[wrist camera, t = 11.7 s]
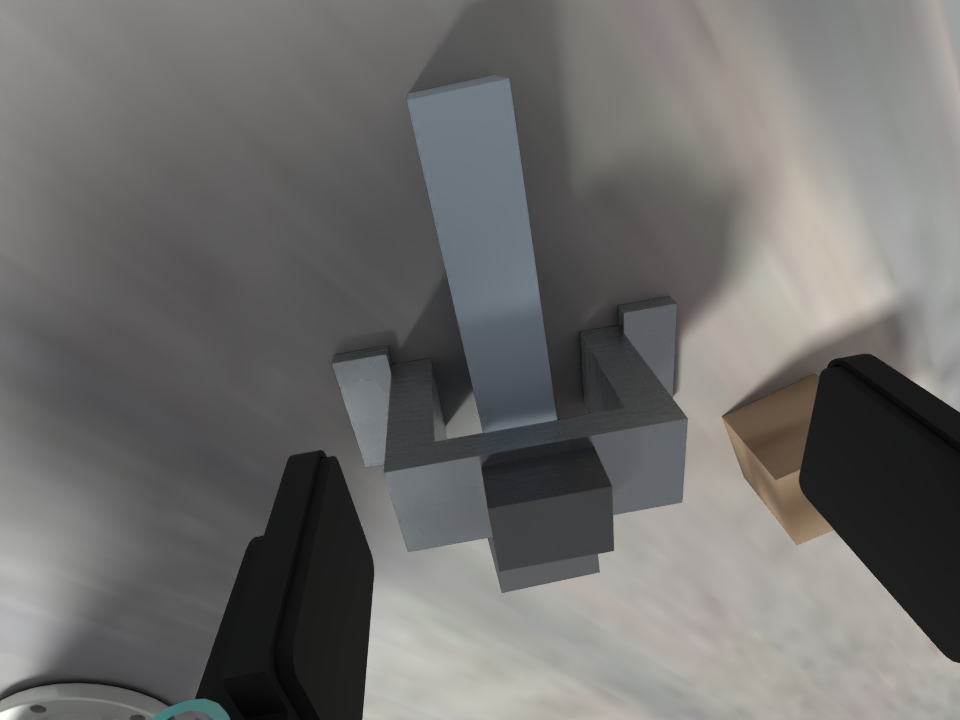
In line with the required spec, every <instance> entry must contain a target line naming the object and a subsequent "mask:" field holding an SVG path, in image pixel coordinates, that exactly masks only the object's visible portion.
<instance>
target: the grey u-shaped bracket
mask: <svg viewBox="0 0 960 720" xmlns="http://www.w3.org/2000/svg"><path fill="white" fill-rule="evenodd" d="M676 315H677V303H676V302H675V301H674V300H673V299H672V298H671V297H664V298H659V299H653V300H647V301H641V302H636V303H630V304H624V305H618V325H616V326H610V327H605V328H599V329H593V330H588V331H582V332H580V340H581V359H582V377H583V396H584V404H585V406H586V408H587V410H588V412H589V414H588V415H582V416H576V417H571V418H565V419H560V420H554V421H548V422H543V423H537V424H531V425H526V426H520V427H515V428H509V429H503V430H498V431H492V432H486V433H481V434H475V435H470V436H464V437H458V438H453V439H447V438H446V426H445V422H444V417H443V412H442V408H441V403H440V399H439V394H438V389H437V385H436V380H435V376H434V371H433V366H432V362H431V358H428V359H422V360H416V361H410V362H405V363H399V364H393V365H392V363H391V359H390V355H389V351H388V348H387V346H383V347H377V348H372V349H366V350H360V351H355V352H349V353H343V354H337V355H334V358H333V362H332V366H333V369H334V372H335V375H336V378H337V381H338V384H339V387H340V390H341V393H342V396H343V400H344V403H345V406H346V409H347V412H348V415H349V418H350V421H351V424H352V427H353V430H354V433H355V436H356V439H357V442H358V446H359V449H360V452H361V455H362V458H363V461H364V464H365V467H372V466H378V465H383V464H384V476H385V479H386V482H387V486H388V489H389V492H390V496H391V499H392V502H393V505H394V509H395V512H396V515H397V518H398V522H399V525H400V528H401V531H402V535H403V538H404V541H405V544H406V548H407V551H408V552H412V551H418V550H423V549H429V548H434V547H440V546H445V545H451V544H456V543H462V542H467V541H473V540H478V539H484V538H489V537H493V541H494V546H495V551H496V557H497V562H498V568H499V572H501V571H506V570H512V569H517V568H522V567H528V566H533V565H539V564H544V563H550V562H555V561H561V560H566V559H572V558H577V557H583V556H588V555H594V554H599V553H605V552H610V551H614V536H613V515H616V514H621V513H627V512H632V511H638V510H643V509H649V508H654V507H660V506H665V505H671V504H676V503H682V499H683V484H684V468H685V453H686V438H687V422H688V418H687V417H686V416H685V414H684V413H683V411H682V410H681V409H680V407H679V406H678V405H677V403H676V402H675V401H674V399H673V380H674V358H675V337H676Z"/></svg>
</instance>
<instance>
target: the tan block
mask: <svg viewBox="0 0 960 720" xmlns="http://www.w3.org/2000/svg"><path fill="white" fill-rule="evenodd" d="M818 382H819V377H818V376H817V375H815V374H813V375H810V376H808V377H806V378H804V379H802V380H800V381H797V382H795V383H793V384H791V385H789V386H787V387H784V388H782V389H780V390H778V391H776V392H774V393H771V394H769V395H767V396H765V397H763V398H761V399H758V400H756V401H754V402H752V403H750V404H748V405H745V406H743V407H741V408H739V409H737V410H735V411H733V412H730V413H728V414H726V415H724V416H722V418H723V421H724V424H725V426H726V429H727V432H728V435H729V437H730V440H731V443H732V445H733V448H734V451H735V454H736V456H737V459H738V462H739V465H740V467H741V470H742V473H743V476H744V478H745V479H746V480H747V482H748V483H749V484H750V486H751V487H752V488H753V489H754V491H755V492H756V493H757V495H758V496H759V497H760V498H761V500H762V501H763V502H764V504H765V505H766V506H767V507H768V509H769V510H770V511H771V513H772V514H773V515H774V516H775V518H776V519H777V520H778V522H779V523H780V524H781V525H782V527H783V528H784V529H785V531H786V532H787V533H788V535H789V536H790V537H791V538H792V540H793V541H794V542H795V544H796V545H799V544H801V543H804V542H806V541H808V540H811V539H813V538H816V537H818V536H820V535H823V534H825V533H828V532H830V531H833V530H834V529H833V528H832V527H831V526H830V525H829V523H828V522H827V521H826V520H825V519H824V518H823V517H822V515H821V514H820V513H819V512H818V511H817V510H816V509H815V507H814V506H813V505H812V504H811V503H810V502H809V501H808V499H807V498H806V497H805V496H804V494H803V492H802V490H801V488H800V485H799V474H800V469H801V464H802V459H803V454H804V450H805V445H806V440H807V435H808V430H809V426H810V421H811V416H812V411H813V406H814V401H815V397H816V392H817V387H818Z"/></svg>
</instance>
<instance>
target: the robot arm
mask: <svg viewBox="0 0 960 720" xmlns="http://www.w3.org/2000/svg"><path fill="white" fill-rule="evenodd" d="M799 485H800V488H801V490H802V492H803V494H804V496H805V497H806V498H807V499H808V501H809V502H810V503H811V504H812V505H813V506H814V507H815V509H816V510H817V511H818V512H819V513H820V514H821V515H822V517H823V518H824V519H825V520H826V521H827V522H828V523H829V525H830V526H831V527H832V528H833V529H834V530H835V531H836V532H837V534H838V535H839V536H840V537H841V538H842V539H843V540H844V542H845V543H846V544H847V545H848V546H849V547H850V548H851V550H852V551H853V552H854V553H855V554H856V555H857V556H858V558H859V559H860V560H861V561H862V562H863V563H864V564H865V566H866V567H867V568H868V569H869V570H870V571H871V572H872V573H873V575H874V576H875V577H876V578H877V579H878V580H879V581H880V583H881V584H882V585H883V586H884V587H885V588H886V589H887V591H888V592H889V593H890V594H891V595H892V596H893V597H894V599H895V600H896V601H897V602H898V603H899V604H900V605H901V607H902V608H903V609H904V610H905V611H906V612H907V613H908V614H909V616H910V617H911V618H912V619H913V620H914V621H915V622H916V624H917V625H918V626H919V627H920V628H921V629H922V630H923V632H924V633H925V634H926V635H927V636H928V637H929V638H930V640H931V641H932V642H933V643H934V644H935V645H936V646H937V647H938V649H939V650H940V651H941V652H942V653H943V654H944V655H945V656H946V657H947V658H949V659H950V660H952V661H954V662H957V663H960V412H958V411H957V410H955V409H954V408H952V407H951V406H949V405H948V404H946V403H945V402H943V401H942V400H940V399H939V398H937V397H935V396H934V395H932V394H931V393H929V392H928V391H926V390H925V389H923V388H922V387H920V386H919V385H917V384H916V383H914V382H913V381H911V380H910V379H908V378H907V377H905V376H904V375H902V374H901V373H899V372H898V371H896V370H895V369H893V368H892V367H890V366H889V365H887V364H885V363H884V362H882V361H881V360H879V359H878V358H876V357H875V356H873V355H870V354H860V355H855V356H849V357H843V358H838V359H834V360H832V361H831V362H830V363H829V364H828V367H827V369H824V370H823V371H822V372H821V374H820V377H819V382H818V387H817V392H816V397H815V401H814V406H813V411H812V416H811V421H810V426H809V430H808V435H807V440H806V445H805V450H804V454H803V459H802V464H801V469H800V474H799ZM373 581H374V565H373V558H372V554H371V551H370V549H369V546H368V543H367V540H366V537H365V535H364V532H363V529H362V526H361V523H360V521H359V518H358V515H357V512H356V509H355V507H354V504H353V501H352V498H351V495H350V493H349V490H348V487H347V484H346V482H345V479H344V476H343V473H342V470H341V468H340V465H339V462H338V460H337V458H336V457H335V456H331V457H327V456H326V454H325V452H324V451H322V450H319V451H314V452H308V453H302V454H297V455H292V456H290V457H289V459H288V461H287V464H286V467H285V471H284V474H283V477H282V480H281V483H280V486H279V490H278V493H277V496H276V499H275V502H274V505H273V509H272V512H271V515H270V518H269V521H268V524H267V528H266V531H265V534H264V536H259V537H254V538H253V539H252V540H251V541H250V543H249V545H248V547H247V549H246V552H245V555H244V558H243V561H242V563H241V566H240V569H239V572H238V575H237V578H236V581H235V584H234V587H233V590H232V593H231V596H230V598H229V601H228V604H227V607H226V610H225V613H224V616H223V619H222V622H221V625H220V628H219V631H218V633H217V636H216V639H215V642H214V645H213V648H212V651H211V654H210V657H209V660H208V663H207V666H206V668H205V671H204V674H203V677H202V680H201V683H200V686H199V689H198V692H197V695H196V698H195V699H192V700H187V701H184V702H181V703H178V704H176V705H173V706H170V707H169V706H167V705H165V704H164V703H162V702H160V701H158V700H156V699H154V698H152V697H149V696H146V695H144V694H141V693H139V692H135V691H131V690H127V689H124V688H120V687H114V686H107V685H101V684H87V683H66V684H53V685H46V686H40V687H35V688H31V689H28V690H24V691H21V692H18V693H16V694H13V695H11V696H9V697H7V698H5V699H3V700H1V701H0V720H362V717H363V705H364V692H365V680H366V667H367V655H368V643H369V630H370V618H371V606H372V593H373Z"/></svg>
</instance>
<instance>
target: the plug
mask: <svg viewBox="0 0 960 720" xmlns="http://www.w3.org/2000/svg"><path fill="white" fill-rule="evenodd" d="M407 104H408V108H409V113H410V117H411V121H412V126H413V130H414V134H415V139H416V143H417V147H418V152H419V156H420V160H421V165H422V169H423V174H424V178H425V182H426V187H427V191H428V195H429V200H430V204H431V208H432V213H433V217H434V221H435V226H436V230H437V234H438V239H439V243H440V247H441V252H442V256H443V260H444V265H445V269H446V273H447V278H448V282H449V287H450V291H451V295H452V300H453V304H454V308H455V313H456V317H457V321H458V326H459V330H460V334H461V339H462V343H463V347H464V352H465V356H466V360H467V365H468V369H469V373H470V378H471V382H472V386H473V391H474V395H475V400H476V404H477V408H478V413H479V417H480V421H481V426H482V430H483V433H486V432H492V431H498V430H503V429H509V428H515V427H520V426H526V425H531V424H537V423H543V422H548V421H554V420H557V415H556V408H555V401H554V394H553V387H552V380H551V372H550V365H549V358H548V351H547V344H546V337H545V329H544V322H543V315H542V308H541V301H540V294H539V287H538V279H537V272H536V265H535V258H534V251H533V244H532V236H531V229H530V222H529V215H528V208H527V201H526V194H525V186H524V179H523V172H522V165H521V158H520V151H519V144H518V136H517V129H516V122H515V115H514V108H513V101H512V93H511V86H510V79H509V78H506V77H502V76H498V75H491V76H486V77H482V78H477V79H472V80H468V81H463V82H458V83H454V84H449V85H445V86H440V87H435V88H431V89H426V90H421V91H417V92H412V93H408V97H407ZM488 541H489V545H490V549H491V552H492V556H493V560H494V564H495V568H496V572H497V576H498V580H499V584H500V588H501V591H502V593H504V592H509V591H513V590H518V589H523V588H528V587H532V586H537V585H542V584H546V583H551V582H556V581H561V580H565V579H570V578H575V577H580V576H584V575H589V574H594V573H598V572H600V570H599V561H598V554H594V555H588V556H583V557H577V558H572V559H566V560H561V561H555V562H550V563H544V564H539V565H533V566H528V567H522V568H517V569H512V570H506V571H501V572H499V568H498V562H497V557H496V551H495V546H494V541H493V537H489V538H488Z"/></svg>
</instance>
